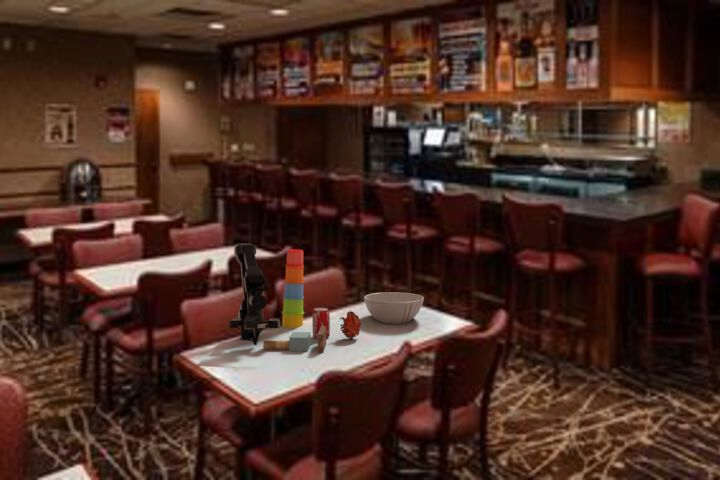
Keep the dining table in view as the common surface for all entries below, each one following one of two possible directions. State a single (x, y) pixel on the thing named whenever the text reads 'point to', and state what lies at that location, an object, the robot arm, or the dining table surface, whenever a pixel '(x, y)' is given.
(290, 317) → the stacking cups
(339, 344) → the dining table surface
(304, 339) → the block
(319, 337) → the wall
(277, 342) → the dowel
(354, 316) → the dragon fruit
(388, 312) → the decorative bowl
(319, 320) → the soda can
